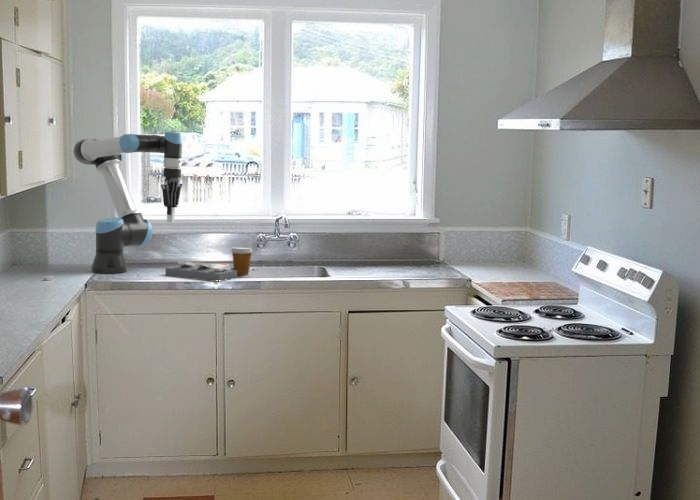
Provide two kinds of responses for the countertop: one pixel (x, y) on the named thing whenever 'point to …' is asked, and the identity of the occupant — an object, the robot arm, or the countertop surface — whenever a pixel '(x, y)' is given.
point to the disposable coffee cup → (241, 259)
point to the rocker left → (186, 263)
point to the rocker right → (220, 267)
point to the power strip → (200, 272)
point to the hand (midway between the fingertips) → (170, 222)
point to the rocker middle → (203, 265)
